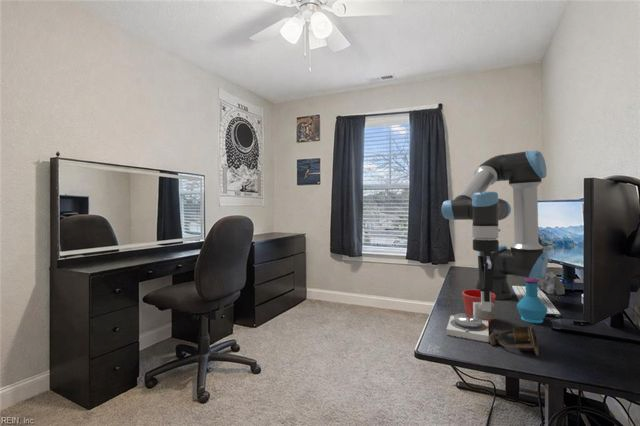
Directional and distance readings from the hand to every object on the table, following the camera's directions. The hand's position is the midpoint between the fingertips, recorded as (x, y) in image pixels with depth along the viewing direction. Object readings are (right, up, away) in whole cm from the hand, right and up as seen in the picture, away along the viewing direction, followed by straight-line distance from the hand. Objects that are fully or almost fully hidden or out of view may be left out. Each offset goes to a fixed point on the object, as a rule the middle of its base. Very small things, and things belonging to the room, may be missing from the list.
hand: (486, 310), depth 99 cm
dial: (-3, -5, +2) cm, 6 cm away
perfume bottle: (+23, -7, +11) cm, 27 cm away
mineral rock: (+56, -6, +47) cm, 73 cm away
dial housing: (-5, -8, +3) cm, 9 cm away
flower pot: (+4, -8, +12) cm, 15 cm away
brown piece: (+3, -8, -10) cm, 13 cm away
